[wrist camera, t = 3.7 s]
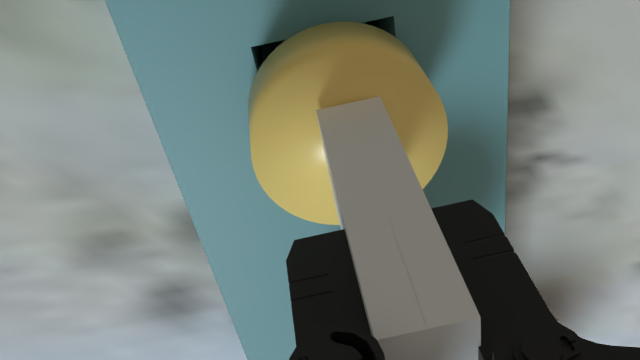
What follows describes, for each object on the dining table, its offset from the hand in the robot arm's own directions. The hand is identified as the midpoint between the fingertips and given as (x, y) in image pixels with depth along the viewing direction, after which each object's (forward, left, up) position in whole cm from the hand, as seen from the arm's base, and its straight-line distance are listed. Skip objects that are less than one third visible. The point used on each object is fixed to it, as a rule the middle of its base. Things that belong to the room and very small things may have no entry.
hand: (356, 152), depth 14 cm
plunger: (0, 0, -8) cm, 8 cm away
